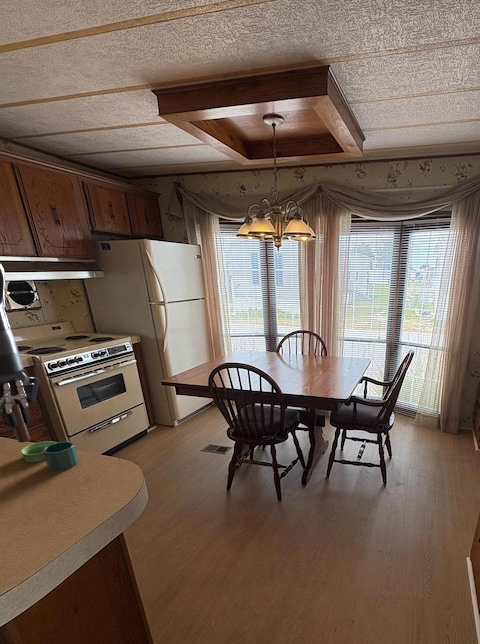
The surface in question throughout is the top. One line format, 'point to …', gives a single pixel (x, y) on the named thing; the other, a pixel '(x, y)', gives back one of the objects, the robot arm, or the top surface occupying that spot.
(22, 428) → the brown cylinder rod
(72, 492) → the top surface
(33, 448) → the ramekin
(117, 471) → the top surface
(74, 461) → the cup
